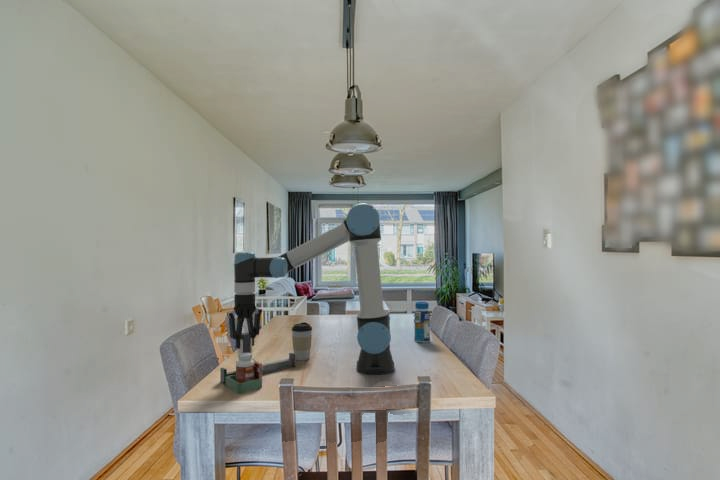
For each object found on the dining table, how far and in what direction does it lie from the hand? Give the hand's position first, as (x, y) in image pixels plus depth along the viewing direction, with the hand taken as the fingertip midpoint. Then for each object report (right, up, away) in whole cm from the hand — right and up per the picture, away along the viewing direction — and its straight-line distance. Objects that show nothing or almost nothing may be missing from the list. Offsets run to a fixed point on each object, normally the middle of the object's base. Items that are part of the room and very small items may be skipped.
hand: (245, 355), depth 146 cm
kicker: (+4, -7, -4) cm, 9 cm away
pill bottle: (+3, -8, -9) cm, 13 cm away
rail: (+5, -8, +4) cm, 10 cm away
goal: (+2, -8, -10) cm, 13 cm away
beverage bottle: (+76, -9, +55) cm, 94 cm away
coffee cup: (+18, -9, +25) cm, 32 cm away
